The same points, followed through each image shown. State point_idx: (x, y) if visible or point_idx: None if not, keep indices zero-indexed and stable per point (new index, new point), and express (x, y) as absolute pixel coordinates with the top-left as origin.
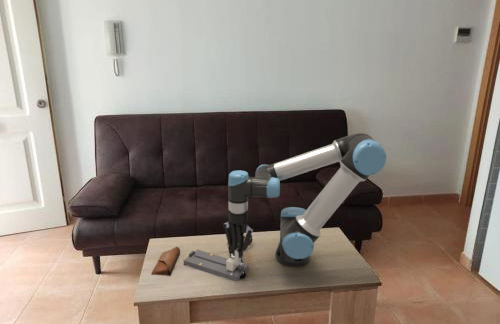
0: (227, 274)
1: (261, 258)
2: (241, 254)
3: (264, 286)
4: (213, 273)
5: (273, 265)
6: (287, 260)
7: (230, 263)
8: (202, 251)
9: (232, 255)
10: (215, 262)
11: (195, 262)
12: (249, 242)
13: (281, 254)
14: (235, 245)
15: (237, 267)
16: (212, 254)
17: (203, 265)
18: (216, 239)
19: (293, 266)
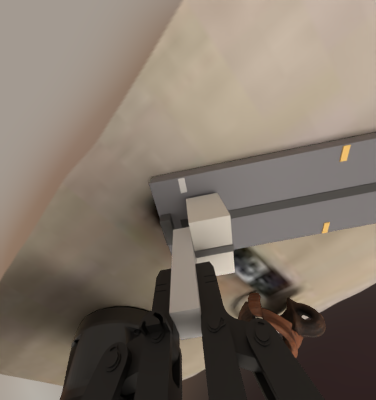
0: (195, 174)
1: None
2: (154, 296)
3: (63, 216)
4: (259, 156)
5: (133, 293)
6: (97, 328)
7: (201, 216)
8: (368, 222)
9: (231, 262)
10: (286, 202)
11: (372, 149)
12: None
13: (118, 340)
14: (206, 370)
15: None
16: (322, 230)
17: (326, 155)
18: (339, 285)
19: (89, 315)
